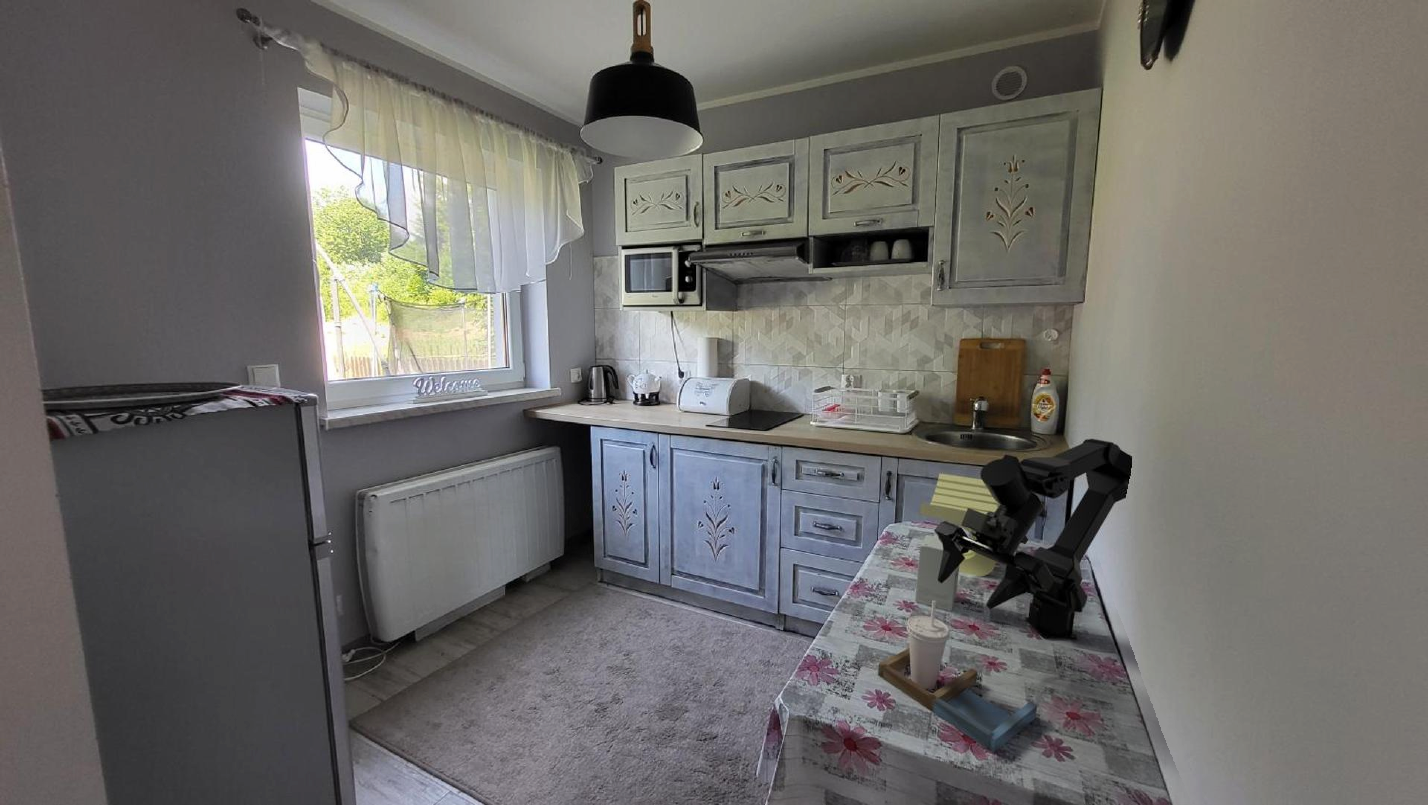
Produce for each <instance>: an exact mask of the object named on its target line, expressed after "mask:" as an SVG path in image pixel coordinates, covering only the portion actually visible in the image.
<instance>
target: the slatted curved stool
mask: <svg viewBox="0 0 1428 805" xmlns="http://www.w3.org/2000/svg"><path fill="white" fill-rule="evenodd" d="M935 486H936V487H935V490H934V494H933V495H932V498H931V502H930V503H925V502H921V503H920V511H919V512H920V513H919V514H920V516H925V517H931V518H934V519H938V520H940V521H946V522H949V523H952V524H954V525H957V526H959V527H962V529H963V530H964V531H965V530H966V531H967V532H968V533H969V535H970V536H971V537H972V538H971V539H974V540H976V539H977V538H976V537H975V536H973V535H972V533H971V531H972V529H970V528H968V527H964V526H962V525H961V524H962V522H963V519H964V517H965V514H966V512H967V509H968V508H970V509H972V510H975V511H978V512H981V513H984V514H987V513H988V512H989V511H991V512H995V511H996V509H997V508H998V507H999V505H1000V504H999V503H998V502H996V501H995V499H994V498H993V496H992V495H991V493H990V492H989V490H988V489H987V487H986V485H985V484H984V482H983V481H982V479H981V478H980V479H979V478H972V477H966V476H960V475H953V474H947V473H939V474H938V478H937V483H936V485H935ZM963 556H964V557H965V559H964V560H963V561H962V563H961V564H960V565H959V573H963V574H967V575H970V576H971V575H972V576H974V575H976V577H984V576H988V575H989V574H990V573H992V571H993V570H994V569H995V567H996V565H997V561H994V560H992V559H990V558H987V557H985V556H983V555H980V554H978V553H976V552H974V551H971V550H969V551H968V553H964V554H963Z"/></svg>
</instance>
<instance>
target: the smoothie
mask: <svg viewBox="0 0 1428 805" xmlns="http://www.w3.org/2000/svg"><path fill="white" fill-rule="evenodd" d="M930 612H931V613H930V616H926V615H915V616H911V617H909V618H908V620H907V623H906V630H907V632H908V641H909V643H908V644H909V648H910V664H909V665H910V680H912V681H913V682H915V683H916V684H918V685H919V686H921V687H922V688H924V689H926V690H932V689H934V688H935V687H936V685H937V682H938V681H937V680H938V677H939V673H940V668H941V664H942V661H943V657H944V652H945V650H946V644H947V641H949V639H950V632H951V631H950V629H949V627H948V626H947V625H946V623H945V622H943V621H941V620H939V619H937V618H935V617H936V601H935V600H932V606H931V611H930Z"/></svg>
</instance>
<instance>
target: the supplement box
mask: <svg viewBox="0 0 1428 805" xmlns="http://www.w3.org/2000/svg"><path fill="white" fill-rule="evenodd" d="M923 538H924V539H923V540H922V542H921V544H920V546H919V554H918V555H919V556H918V566H917V567H918V568H917V577H916V586H915V587H916V588H915V599H914V601H915V602H917V603H919V604H924V605H926V606H931V607H932V600H935V601H936V608H937V609H940V610H943V611H947V610H948V612H952V611H953V606H954V603H955V600H956V598H957V590H958V581H959V573H960V572H959V566H958V567H957V568H956V569H955V571H954V572H953V573H952V574H951V575H950V576H949V577H948V578H947V579H946V580H945V581H944V582H943V583H940V582H939V581H938V575H939V570H940V566H941V561H942V556H943V544H942V543H941V541H940V540H939V538H938V536H935V535H930V534H929V535H928V534H926V535H925V537H923Z"/></svg>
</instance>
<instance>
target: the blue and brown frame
mask: <svg viewBox="0 0 1428 805" xmlns="http://www.w3.org/2000/svg"><path fill="white" fill-rule="evenodd" d="M908 665H910V647H908V648H906V649H904V650H902V651H900V652H899V653H896V654H895V655H893V656H891V657H890V658H887V659H885V660H884V661H881V662H880V663H878V671H877V675H878V677H879V678H882V679H883V680H884V681H886V682H887V683H888V684H890V685H892V686H894V687H895V688H896V689H898V690H899V691H901V692H902V693H904V694H905V695H906V696H908V697H910V698H911V699H912V700H914V701H916V703H918V704H920V705H921V706H923V707H925V708H926V709H927V710H929V711H931V713H933V714H935V715H936V716H938V718H941V719H943V720H944V721H945V722H947V723H948V724H950V725H951V726H953V727H954V728H956V729H957V730H958V731H960V732H961V733H963V734H965V735H966V736H968V737H969V738H971V739H972V740H973V741H975V742H976V743H977V744H979V745H980V746H982V747H984V748H985V749H987V750H988V751H990V752H991V753H993V754H995V753H996V752H997V751H999V749H1000V748H1003V746H1004V745H1005V744H1007V743H1008V742H1010V740H1012V739H1013V737H1015V736H1016V735H1017V734H1018V733H1019V732H1021V731H1022V730H1023V729H1024V728H1025V727H1027V726H1028V725H1029V724H1030V723H1032V721H1034V720H1035V719H1036V718H1037V710H1038V705H1037V704H1036V703H1034V702H1032V701H1028V702H1027V703H1026V704H1025V705H1024V706H1023V707H1020V709H1018V711H1016V712H1014V713H1013V714H1012V715H1011V714H1010V713H1008V712H1006V711H1004V710H1003V709H1002V708H1000V707H997V705H994V704H992V702H990V701H988V700H986V699H984V698H982V697H981V696H979V695H978V694H976V693H974V692H972V691H971V690H970V688H971V687H973V686H975V685H976V684H977V683H978V682H977V681H978V673H979V672H978V671H977V670H975V669H973V668H970V669H969V670H966V671H965V672H964V673H962V674H961V675H959V676H958V677H956V678H954V679H953V680H952V681H949V682H948V683H947V684H945V685H943V686H942V687H940V688H939V689H937V690H935V691H934V692H933V693H932V692H930V691H928V689H924V688H922V687H921V686H919V685H918V684H916V683H915V682H913V681H912V680H911V678H909V677H907V676H906V675H904V674H902V673H900V672H899V670H901V669H902V668H904V667H906V666H908Z"/></svg>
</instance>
